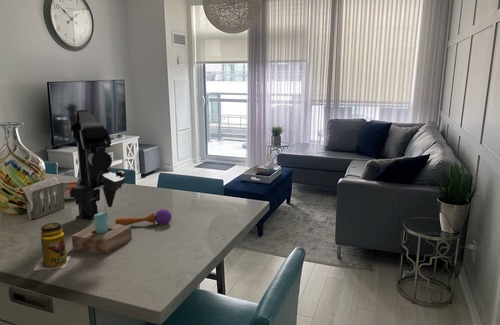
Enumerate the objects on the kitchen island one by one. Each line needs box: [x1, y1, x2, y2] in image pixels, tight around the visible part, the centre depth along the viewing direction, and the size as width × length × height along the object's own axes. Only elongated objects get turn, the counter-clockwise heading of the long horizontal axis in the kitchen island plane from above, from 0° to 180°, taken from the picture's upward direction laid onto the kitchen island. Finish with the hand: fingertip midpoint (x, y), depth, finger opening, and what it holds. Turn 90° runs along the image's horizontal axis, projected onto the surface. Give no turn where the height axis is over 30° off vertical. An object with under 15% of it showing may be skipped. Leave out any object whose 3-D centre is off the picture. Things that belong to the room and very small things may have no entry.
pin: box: [93, 212, 109, 235], centre depth 124 cm, size 4×4×9 cm
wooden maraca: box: [115, 208, 172, 226], centre depth 141 cm, size 6×6×20 cm
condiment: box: [33, 222, 71, 271], centre depth 110 cm, size 7×8×12 cm
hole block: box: [71, 222, 133, 255], centre depth 125 cm, size 13×13×4 cm
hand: (100, 211), depth 123 cm, fingers open, 9 cm apart
